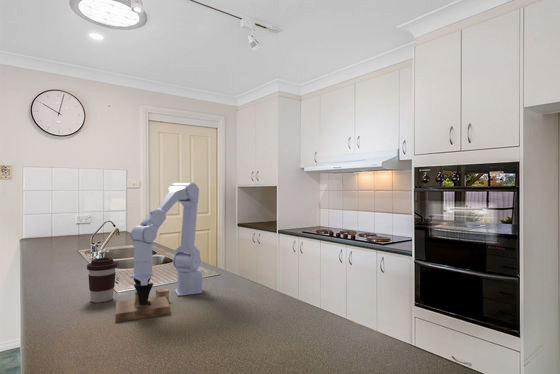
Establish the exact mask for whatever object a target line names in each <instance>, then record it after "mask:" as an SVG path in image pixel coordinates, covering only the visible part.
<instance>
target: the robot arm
mask: <svg viewBox="0 0 560 374" xmlns="http://www.w3.org/2000/svg"><path fill="white" fill-rule="evenodd" d="M199 192H200V188H199V187H198V185H197V184H196V183H195V182H192V181H191V182H175V181H174V182H172V183H171V184H170V186H169V187H168V188H167V194H166V195H165V196H164V198H163V200H162V201H161V202H160V204H159V206H158V207H156V208H152V209H150V210H149V213H148V214H147V215H146V217H144V219H142V220H141V223H140V224H137V225H135V226H134V227H133V228H132V229H131V232H130V234H129V238H130V240H131V242H132V246H133V274H130V275H129V278H130V279H132V278H133V279H132V280H133V281H134V284H133V285H134V286H133V287H134V289H135V290H136V291H137V293H138V298H139V304H140V306H142V305H147V302H148V298H150V293H151V290H152V288H153V286H154V283H153V282H151V283H150V280H151V279H152V277H153V275H154V273H153V242H154V241H155V240H156V239H157V236H158V232H159V229H160V227H161V226H162V225H163V223H164V222H165V221H166V219H167V215H166V214H168V212H169V211H170V210H171V208H173V206H174V205H175V204H176V203H177V202H178V203H180V204H181V205H182V206H183V211H182V222H181V233H180V234H181V235H180V236H181V237H180V245H179V246H178V247H177V248H176V249H175V251H174V255H173V258H172V264H173V267H174V268H175V271H176V272H177V274H176V275H177V278H176V286H177V287H176V288H174V291H175V294H176V296H177V297H180V296H188V295H195V294H202V293H203V275H202V274H203V272H202V269H201V268H199V267H200V265H201V255H200V253H201V250H199V248H198V247H197V246H195V245H196V244H195V240H196V226H197V215H198V203H199V196H200V195H199Z"/></svg>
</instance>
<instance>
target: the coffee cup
mask: <svg viewBox="0 0 560 374" xmlns="http://www.w3.org/2000/svg"><path fill="white" fill-rule="evenodd" d="M117 267H118V261H115V260H114V259H113V258H112V257H98V258H94V259H92V260H91V262H90V263H88V264H87V265H86V270H87V271H88V287H89V295H90V301H91V302H92V303H98V304H99V303H100V304H101V303H105V302H109V301H111V300H112V299H113V298H114V289H115V285H116V284H115V283H116V273H117V272H116V268H117Z"/></svg>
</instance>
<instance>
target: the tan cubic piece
mask: <svg viewBox="0 0 560 374" xmlns="http://www.w3.org/2000/svg"><path fill="white" fill-rule="evenodd" d="M169 292H170V291H169V289H167V288H166V287H165V288H159V289H155V297H159V296H166V298H167V300H168V303H169V301H170V300H169V299H170V297H169Z"/></svg>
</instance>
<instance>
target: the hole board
mask: <svg viewBox="0 0 560 374" xmlns="http://www.w3.org/2000/svg"><path fill="white" fill-rule="evenodd" d="M115 305H116V306H115V323H117V322H126V321H131V320H139V319H145V318H152V317H158V316H165V315H170V314H171V305H170V304H169V302H168V300H167V298H166V296H159V297H156V296H153V297H148V302H147V306H143V307H136V308H135V299H129V300H127V299H126V300H122V301H116V303H115Z"/></svg>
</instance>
